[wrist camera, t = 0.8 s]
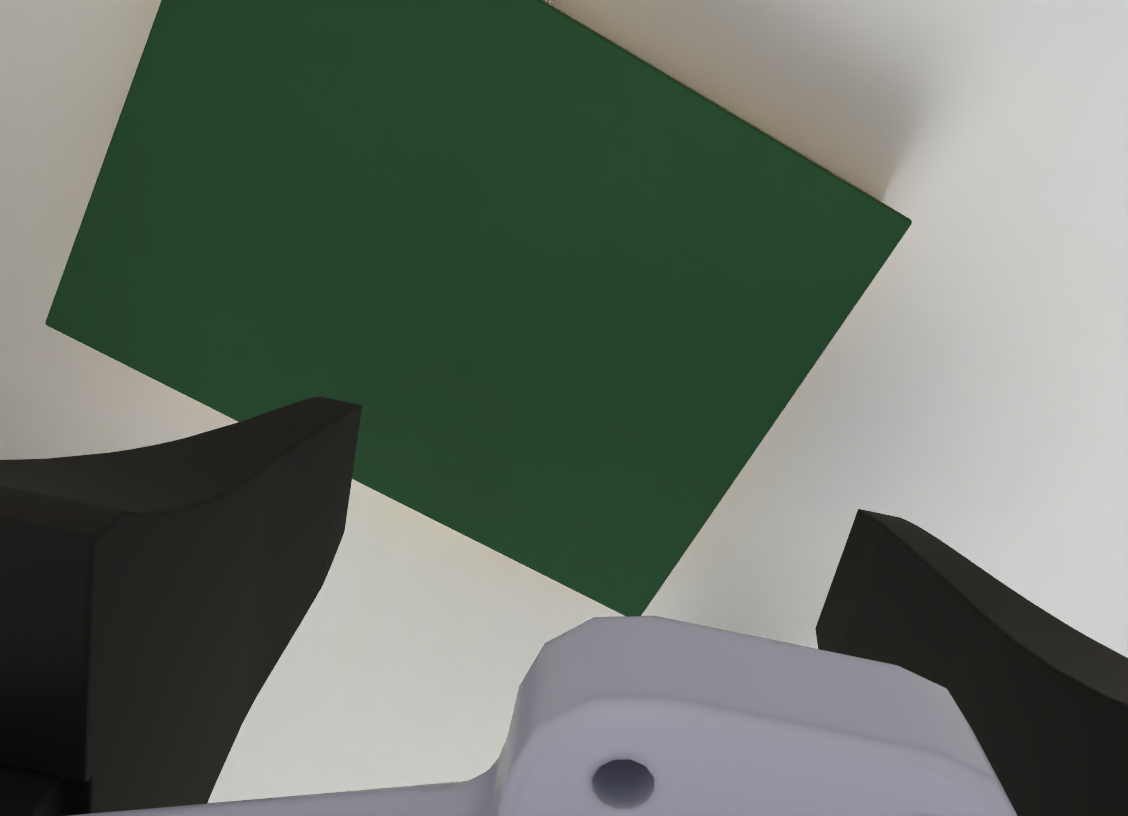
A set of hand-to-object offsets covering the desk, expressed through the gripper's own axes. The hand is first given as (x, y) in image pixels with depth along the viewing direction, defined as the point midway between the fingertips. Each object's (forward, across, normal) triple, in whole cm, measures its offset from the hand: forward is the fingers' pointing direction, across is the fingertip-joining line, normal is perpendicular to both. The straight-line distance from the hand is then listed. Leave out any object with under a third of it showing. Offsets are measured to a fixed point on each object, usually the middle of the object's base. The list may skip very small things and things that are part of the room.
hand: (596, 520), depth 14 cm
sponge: (+10, +3, -1) cm, 11 cm away
